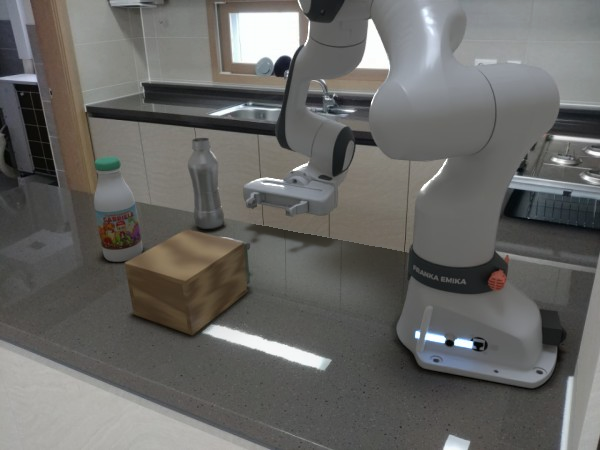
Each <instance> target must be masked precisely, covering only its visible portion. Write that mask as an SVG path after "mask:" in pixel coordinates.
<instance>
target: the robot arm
mask: <svg viewBox="0 0 600 450" xmlns="http://www.w3.org/2000/svg"><path fill="white" fill-rule="evenodd" d="M297 3H298V7H299V9H300V11H301V13H302V14H303V15H304V17H305V18H306V19H307V20H308V33H307V39H306V42H305V43H304V44H301V45H299V47H297V48H296V50H295V52H294V54H293V56H292V57H291V61H290V64H289V68H288V72H287V77H286V83H285V87H284V93H283V97H282V103H281V109H280V111H279V114H278V117H277V120H276V124H275V126H274V127H275V128H274V134H275V138H276V140H277V143H278V145H279V146H280V147H281V148H282V149H285V150H288V151H291V152H293V153H298V154H300V155H302V156H305V157H307V158H309V160H308V162H306V163H305V164H302V165H300V166H299V165H298V166H297V167H295V168H294V169H292V170H290V171H288V172H287V173H286V174H285V175H284V177H283V179H276V178H271V177H261V178H258V179H254V180H252V181H250V182H247V183H244V185H243V186H242V195H243V200H244V201H245V207H246V208H247V209H252V210H253V209H255V208H257V207H258V205H261V206H266V207H272V208H276V209H277V208H278V209H282V210H284V211H285V216H287V217H292V218H293V217H295V216H296V215H303V214H308V215H313V216H318V217H325V216H328V215H329V214H330V213H332V212H333V211H334V210H335V209H336V208H337V207H338V203H339V187H340V186H341V185H342V183H344V181H345V180H346V178H347V176H348V174H349V168H350V166H351V164H352V162H353V160H354V158H355V157H354V156H355V153H356V148H357V147H356V146H357V145H356V144H357V143H356V138H355V135H354V133H353V131H352V128H351V127H350V126H348V125H345V124H343V123H341V122H339V121H336V120H334V119H330V118H327V117H325V116H322V115H320V114H318V113H315V112H313V111H311V109H309V108H308V107H307V105H306V102H307V98H308V93H309V90H310V85H311V81H317V80H335V79H339V78H341V77H342V78H343V77H345V76H347V75H349V74H350V73H352V72H353V71H355V70H356V69H357V68H358V67H359V66H360V64H361V63H362V61H363V58H364V55H365V52H366V47H367V40H368V30H369V20H371V21H372V22H373V25H374V27H375V29H376V31H377V34H378V36H379V38H380V41H381V43H382V47H383V48H384V51H385V53H386V56H387V61H388V72H387V73H388V74H387V76H386V78H385V80H384V82H382V83H381V84H380V86H378V88H377V90H376V91H375V94H374V95H373V98H372V100H371V102H370V106H369V112H368V126H369V130H370V134H371V137H372V139H373V141H374V143H375V145H376V146H377V147H378V149H379V150H380V151H381V152H382V153H383V155H385V156H386V157H387V158H389V159H391V160H398V161H407V162H424V163H425V162H426V163H428V162H434V161H439V160H440V161H441V160H444V163H443V164H442V166H441V168H440V169H439V170H438V171H437V173H436V174H435V175H434V176H433V177H431V179H429V180H427V182H426V183H424V184H423V186H422V187H421V188H420V190H419V191H418V193H417V195H416V198H415V201H414V216H413V232H412V233H413V234H412V243H411V244H410V245H409V249H408V254H407V263H406V272H407V280H408V286H407V291H406V296H405V299H404V300H405V301H404V305H403V308H402V311H401V314H400V317H399V319H398V321H397V323H396V326H395V327H396V334H397V337H398V340H399V341H400V342H401V343H402V345H403V346H405V347H406V349H408V350H409V351H410V352H411V353H412V354H413V356H414V359H415V361H416V363H417V365H418V366H419V367H421V368H422V369H425V370H429V371H435V372H441V373H445V374H446V373H447V374H450V375H456V376H461V377H467V378H472V379H478V380H482V381H488V382H493V383H499V384H504V385H510V386H515V387H522V388H527V389H535V388H538V387H540V386H542V385H543V384H545V383H546V382H547V381H548V380H549V379H550V378H551V376H552V375H553V373H554V371H555V369H556V368H555V367H556V364H557V358H558V347H560V344H562V343H563V342H564V341H565V340H566V339H567V332H566V330H565V329H564V327H563V326H562V323H561V320H560V316H559V312H558V310H551V309H542V308H539V306H538V305H537V303H536V302H535V301H534V300H533V299H532V298H531V297H529V296H528V295H527V294H525V293H524V292H523V291H522V290H520V289H519V288H518V287H517V286H516V285H515V284H513V282H511V281H510V280H509V278H508V273H509V261H510V257H509V254H506V255H505V257H504V258H503V257H502V256H501V255H499V253H498V252H497V251H496V250H495V248H496V242H497V235H498V228H499V222H500V218H501V212H502V207H503V204H504V200H505V197H506V194H507V192H508V189H509V187H510V185H511V183H512V181H513V179H514V177H515V175H516V173H517V172H518V170H519V167H520V165H521V164H522V162H523V161H524V159H525V158H526V156H527V155H528V153H529V152H530V151H531V149H532V148H533V147H534V146H535V144H536V143H537V142H538V141H539V140H540V139H541V138H543V136H545V135H546V134H547V133H548V132H549V131H551V129H552V128H553V127H554V125H555V123H556V121H557V119H558V117H559V113H560V106H561V97H560V92H559V91H560V90H559V88H558V85H557V83H556V81H555V79H554V77H553V76H552V75H551V74H550V73H549V72H548V71H547V70H545V69H543V68H542V67H538V66H533V65H529V64H528V65H527V64H523V63H516V62H499V63H488V64H487V63H486V64H477V65H464V64H462V63H461V62H459V61H458V60H457V58H456V57H455V55H454V53H455V52H456V51H457V50H458V49H459V48H460V45H461V43H463V40H464V37H465V34H466V29H467V23H468V22H467V21H468V20H467V14H466V11H465V10H464V8H463V6H462V4H461V3H460V0H297Z"/></svg>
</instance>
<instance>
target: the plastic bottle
mask: <svg viewBox="0 0 600 450" xmlns="http://www.w3.org/2000/svg"><path fill="white" fill-rule="evenodd" d="M211 148H212V146H211V141H210V138H209V137H197V138H196V137H195V138H193V139H191V149H192V151H193V152H192V153H191V154H190V156H189V159H188V160H187V170H188V174H189V177H190V180H191V185H192V186H191V187H192V189H193V190H192V191H193V202H194V203H193V204H194V208H193V220H194V222H195V223H194V224H195V225H196V226H197V227H198V228H200V229H203V230H215V229H217V228H220V227H221V226H222V225H223V224H224V221H225V213H224V209H223V206H222V202H221V196H220V193H219V161H218V158H217V157H216V155H215V154H214V153H213V152H212V151H211Z"/></svg>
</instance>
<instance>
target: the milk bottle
mask: <svg viewBox="0 0 600 450" xmlns="http://www.w3.org/2000/svg"><path fill="white" fill-rule="evenodd" d="M121 165H122V164H121V159H120V158H119V157H117V156H104V157H99V158H97V159H96V160H94V168H95V172H96V173H97V183H96V188H95V191H94V197H93V207H94V212H95V218H96V224H97V229H98V234H99V235H98V236H99V240H100V245H101V249H102V254H103V257H104V258H105V259H106V260H107V261H109V262H113V263H115V262H117V263H120V262H121V263H122V262H127V261H129V260H131V259H133V258H134V257H136V256H138V255H140V254H142V253H143V250H144V248H143V247H144V246H143V241H142V233H141V228H140V222H139V216H138V210H137V205H136V201H135V197H134V194H133V191H132V190H131V188H130V186H129V185H128V183H127V182H126V180H125V179H124V177H123V175H122V167H121Z"/></svg>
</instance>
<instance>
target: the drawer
mask: <svg viewBox="0 0 600 450" xmlns="http://www.w3.org/2000/svg"><path fill="white" fill-rule="evenodd" d="M195 231H196V232H200V233H204V234H207V232H202V231H197V230H195ZM208 234H209V235H213V236H217V237H221V238H225V239H230V240H234V241H238V242H242V243H244V255H245V268H246V280H247V285H249V284H250V282H251V278H250V268H249V267H250V266H249V255H248V254H249V253H248V251H249V250H250V249H251V243H250V242H247V241H242V240H238V239H234V238H230V237H225V236H218V235H214V234H211V233H208Z"/></svg>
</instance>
